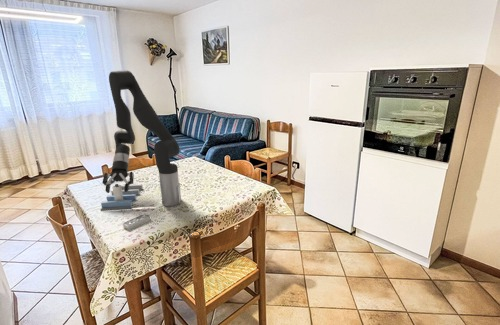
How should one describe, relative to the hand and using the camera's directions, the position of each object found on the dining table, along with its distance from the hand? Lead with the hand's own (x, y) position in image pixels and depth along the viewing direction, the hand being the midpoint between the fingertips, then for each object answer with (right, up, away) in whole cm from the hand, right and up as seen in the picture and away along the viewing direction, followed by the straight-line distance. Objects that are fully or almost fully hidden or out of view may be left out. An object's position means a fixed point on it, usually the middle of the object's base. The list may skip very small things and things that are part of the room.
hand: (116, 192), depth 134 cm
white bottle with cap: (0, -6, +3) cm, 7 cm away
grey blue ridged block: (-1, -5, +10) cm, 11 cm away
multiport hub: (+16, -13, -14) cm, 25 cm away
